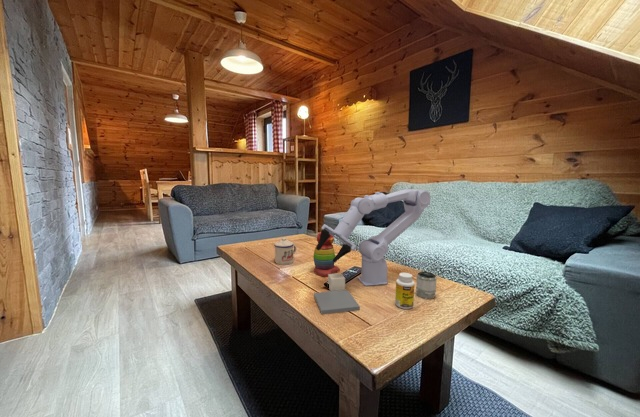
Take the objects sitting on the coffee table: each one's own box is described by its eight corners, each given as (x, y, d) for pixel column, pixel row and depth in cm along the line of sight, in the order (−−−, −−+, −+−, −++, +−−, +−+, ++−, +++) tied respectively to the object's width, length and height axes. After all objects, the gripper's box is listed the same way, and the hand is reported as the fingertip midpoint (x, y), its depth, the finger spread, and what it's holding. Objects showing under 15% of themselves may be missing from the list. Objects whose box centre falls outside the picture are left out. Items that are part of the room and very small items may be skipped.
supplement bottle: (400, 310, 80) (402, 278, 79) (391, 302, 86) (393, 272, 84) (417, 308, 82) (418, 277, 80) (407, 300, 87) (408, 270, 86)
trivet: (347, 293, 92) (347, 289, 92) (359, 310, 80) (359, 306, 80) (314, 296, 90) (314, 292, 89) (321, 314, 78) (321, 310, 78)
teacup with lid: (282, 266, 119) (282, 241, 117) (270, 262, 125) (270, 238, 123) (302, 260, 127) (302, 236, 126) (289, 256, 134) (289, 234, 132)
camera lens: (430, 301, 86) (431, 278, 85) (412, 295, 91) (413, 273, 90) (438, 295, 91) (439, 273, 90) (420, 289, 95) (422, 268, 94)
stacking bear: (327, 278, 106) (327, 234, 103) (307, 272, 112) (307, 231, 109) (341, 270, 114) (342, 230, 112) (323, 265, 120) (323, 227, 118)
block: (340, 286, 98) (341, 273, 98) (344, 291, 93) (345, 278, 93) (327, 287, 97) (328, 274, 97) (331, 292, 92) (331, 279, 92)
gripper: (329, 211, 95) (307, 242, 93) (362, 233, 89) (339, 266, 87) (333, 217, 101) (312, 246, 100) (364, 238, 96) (343, 268, 94)
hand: (325, 255), depth 94 cm, fingers open, 7 cm apart
